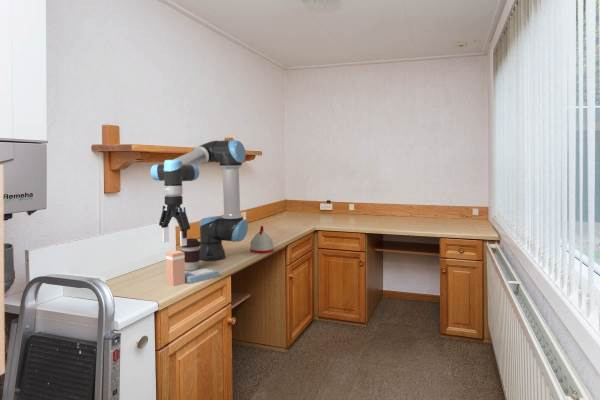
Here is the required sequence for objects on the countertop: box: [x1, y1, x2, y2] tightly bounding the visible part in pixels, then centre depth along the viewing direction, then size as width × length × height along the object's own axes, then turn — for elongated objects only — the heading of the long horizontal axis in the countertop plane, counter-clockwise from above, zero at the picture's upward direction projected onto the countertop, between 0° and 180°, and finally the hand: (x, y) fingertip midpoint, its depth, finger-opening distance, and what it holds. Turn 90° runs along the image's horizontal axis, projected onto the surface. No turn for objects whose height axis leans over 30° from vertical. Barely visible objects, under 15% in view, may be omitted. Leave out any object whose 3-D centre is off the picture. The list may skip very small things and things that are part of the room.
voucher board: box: [184, 267, 220, 285], centre depth 206 cm, size 17×10×3 cm, turn 139°
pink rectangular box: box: [165, 250, 186, 287], centre depth 196 cm, size 6×5×14 cm
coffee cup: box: [180, 238, 201, 272], centre depth 222 cm, size 10×10×15 cm
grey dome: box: [249, 225, 274, 254], centre depth 266 cm, size 14×14×15 cm
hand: (174, 243), depth 195 cm, fingers open, 13 cm apart
